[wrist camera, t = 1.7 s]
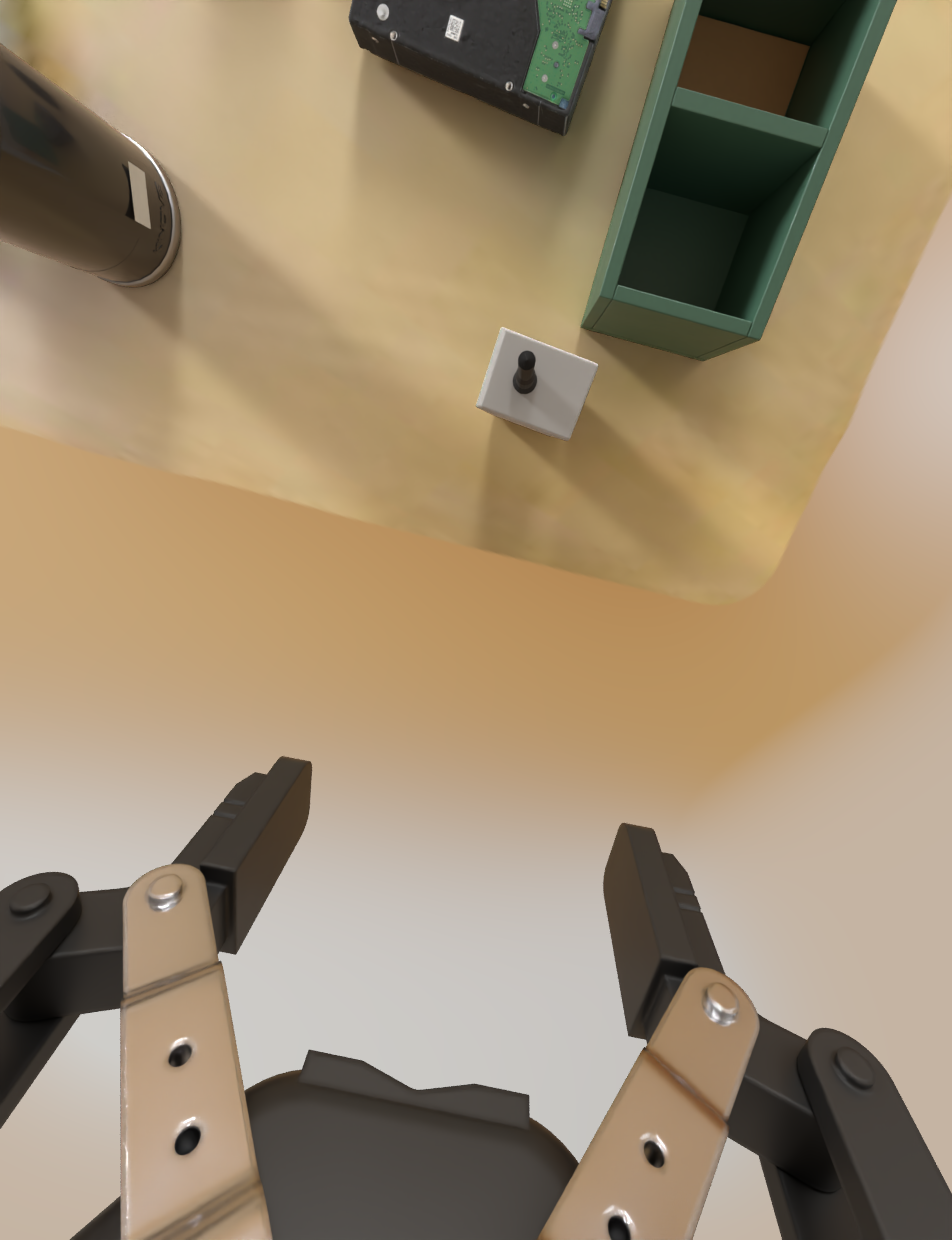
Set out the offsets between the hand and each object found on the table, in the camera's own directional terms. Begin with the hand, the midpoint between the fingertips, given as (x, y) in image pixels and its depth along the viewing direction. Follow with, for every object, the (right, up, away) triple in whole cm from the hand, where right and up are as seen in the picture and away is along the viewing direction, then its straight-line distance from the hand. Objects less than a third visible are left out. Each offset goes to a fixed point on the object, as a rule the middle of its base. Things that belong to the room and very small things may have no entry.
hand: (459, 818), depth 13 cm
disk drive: (+1, +44, +20) cm, 49 cm away
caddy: (+15, +34, +22) cm, 43 cm away
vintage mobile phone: (+5, +22, +28) cm, 36 cm away
